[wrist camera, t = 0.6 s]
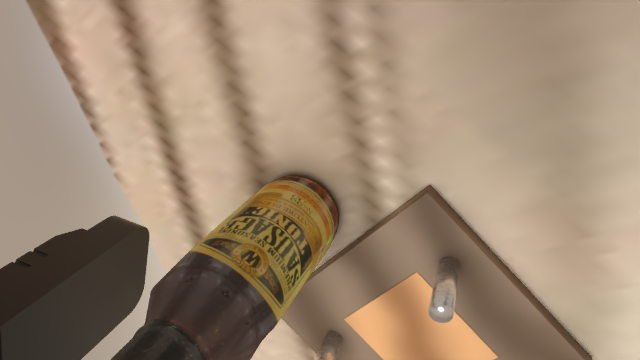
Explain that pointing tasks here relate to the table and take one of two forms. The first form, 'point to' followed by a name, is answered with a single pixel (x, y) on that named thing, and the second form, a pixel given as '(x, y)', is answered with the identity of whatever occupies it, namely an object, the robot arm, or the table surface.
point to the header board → (425, 296)
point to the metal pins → (438, 310)
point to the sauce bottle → (238, 277)
